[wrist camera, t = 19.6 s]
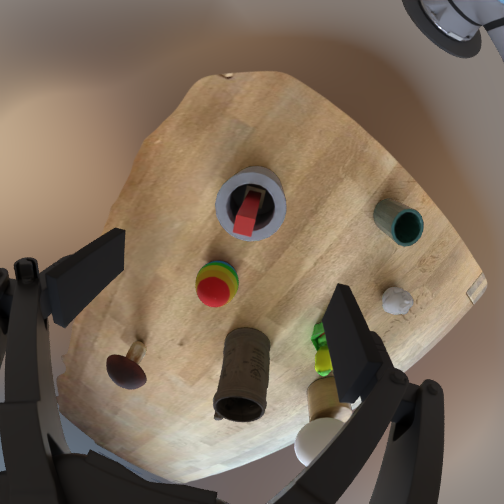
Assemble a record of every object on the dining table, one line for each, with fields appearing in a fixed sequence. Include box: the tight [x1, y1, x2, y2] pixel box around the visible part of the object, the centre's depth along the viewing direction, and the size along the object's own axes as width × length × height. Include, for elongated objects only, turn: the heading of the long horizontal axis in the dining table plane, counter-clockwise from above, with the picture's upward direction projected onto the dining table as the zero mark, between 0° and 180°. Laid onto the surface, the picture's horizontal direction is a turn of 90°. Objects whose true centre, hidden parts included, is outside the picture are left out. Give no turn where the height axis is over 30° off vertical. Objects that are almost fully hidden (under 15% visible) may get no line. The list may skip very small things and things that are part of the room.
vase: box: [215, 166, 286, 241], centre depth 42 cm, size 9×9×14 cm
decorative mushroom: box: [106, 341, 147, 389], centre depth 58 cm, size 11×11×15 cm
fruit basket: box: [311, 322, 333, 376], centre depth 54 cm, size 11×9×11 cm
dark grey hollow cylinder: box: [213, 328, 270, 422], centre depth 54 cm, size 15×11×20 cm
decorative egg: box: [195, 261, 239, 307], centre depth 51 cm, size 8×8×10 cm
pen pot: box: [373, 198, 424, 247], centre depth 44 cm, size 7×7×9 cm
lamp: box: [295, 377, 353, 466], centre depth 55 cm, size 15×14×25 cm
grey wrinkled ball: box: [382, 287, 413, 315], centre depth 51 cm, size 6×7×7 cm
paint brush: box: [233, 183, 266, 237], centre depth 38 cm, size 3×3×22 cm
